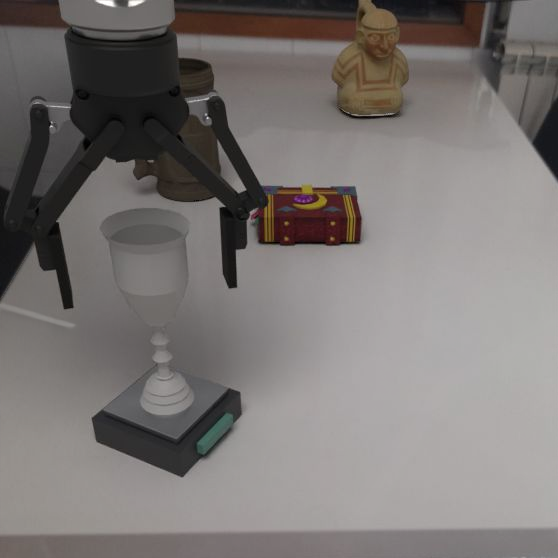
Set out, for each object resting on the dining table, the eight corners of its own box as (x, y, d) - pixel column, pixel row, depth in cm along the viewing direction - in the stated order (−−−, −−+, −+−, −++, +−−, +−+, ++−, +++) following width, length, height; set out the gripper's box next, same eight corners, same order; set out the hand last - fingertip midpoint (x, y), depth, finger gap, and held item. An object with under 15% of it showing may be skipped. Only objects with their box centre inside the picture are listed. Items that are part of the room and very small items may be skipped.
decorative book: (361, 245, 105) (363, 214, 102) (249, 245, 103) (248, 213, 100) (353, 212, 114) (355, 182, 111) (251, 212, 112) (250, 181, 109)
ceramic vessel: (340, 125, 148) (346, -8, 134) (321, 97, 164) (324, -25, 149) (418, 123, 152) (432, -7, 138) (392, 96, 167) (402, -24, 153)
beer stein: (203, 170, 125) (187, 50, 113) (239, 189, 119) (226, 65, 106) (123, 197, 117) (96, 70, 105) (158, 219, 111) (133, 88, 98)
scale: (96, 441, 69) (91, 418, 67) (161, 385, 76) (158, 362, 74) (188, 480, 65) (185, 456, 63) (247, 417, 73) (246, 393, 71)
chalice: (113, 408, 67) (80, 233, 57) (155, 368, 72) (132, 201, 62) (180, 430, 65) (160, 252, 55) (219, 388, 70) (206, 218, 60)
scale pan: (103, 414, 67) (102, 409, 67) (159, 368, 74) (159, 362, 73) (177, 444, 64) (176, 438, 64) (229, 392, 71) (228, 387, 70)
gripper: (-91, 43, 43) (-8, 335, 55) (309, 36, 50) (302, 294, 63) (-77, 16, 49) (-5, 286, 61) (281, 13, 56) (280, 254, 69)
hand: (151, 290), depth 62 cm, fingers open, 13 cm apart
